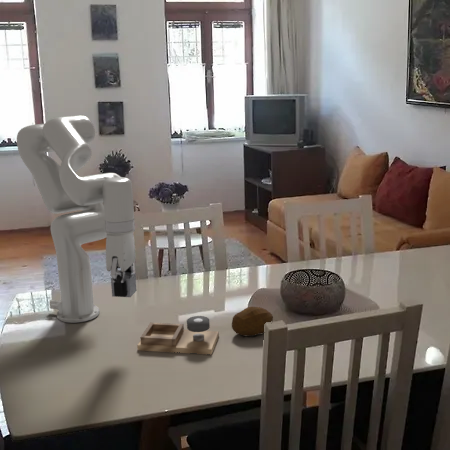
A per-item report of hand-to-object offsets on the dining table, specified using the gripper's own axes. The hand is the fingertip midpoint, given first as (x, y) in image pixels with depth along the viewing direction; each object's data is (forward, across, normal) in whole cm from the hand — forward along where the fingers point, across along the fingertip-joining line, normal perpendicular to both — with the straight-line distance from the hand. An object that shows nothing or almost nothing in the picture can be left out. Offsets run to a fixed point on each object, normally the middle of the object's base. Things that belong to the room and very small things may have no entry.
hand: (124, 291), depth 163 cm
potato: (+16, -12, +32) cm, 38 cm away
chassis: (+16, -3, +13) cm, 21 cm away
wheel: (+11, -3, +19) cm, 22 cm away
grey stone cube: (+1, 0, 0) cm, 1 cm away
